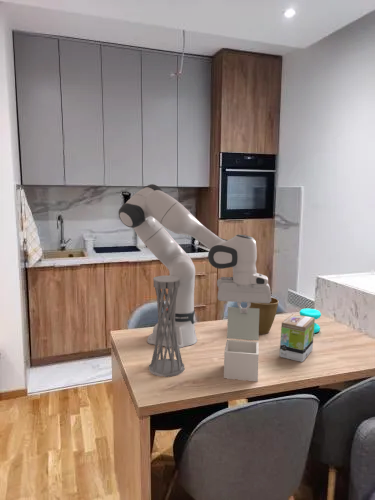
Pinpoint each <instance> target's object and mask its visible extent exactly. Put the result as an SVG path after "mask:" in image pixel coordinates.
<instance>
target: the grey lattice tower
mask: <svg viewBox="0 0 375 500" xmlns="http://www.w3.org/2000/svg"><path fill="white" fill-rule="evenodd" d="M178 287H180V278H179V277H177V276H170V275H158V276H155V277H153V288H154V290H155V293H156V302H157V303H156V304H157V323H158V326H157V334H156V342H155V345H154V349H153V354H152V357H151V362H150V363H149V365H148V371H149V372H150V374H153V376H156V377H161V376H164V377H165V378H168V376H169V377H174V376H178V375H181V374H182V373H184V371H185V364H184V362H183V359H182V354H181V350H180V348H179V345H178V339H177V331H176V322H175V311H176V296H177V291H178ZM172 289H173V293H172ZM169 297H170V305H169ZM164 298H165V301H164ZM167 308H168V313H167V311H166V309H167ZM169 316H170V322H169ZM164 318H166V321H165V322H164ZM162 325H163V332H162ZM171 325H172V330H171ZM167 326H168V329H169V330H168V335H167V332H166V328H167ZM164 336H165V339H166V346H164V350H163V346H162V344H163V340H164ZM169 337H171V340H172V346H171V347H170V346H169ZM159 340H160V344H159V345H158V342H159ZM174 340H175V341H174ZM163 353H164V354H163ZM167 353H168V354H167ZM167 355H168V358H167Z"/></svg>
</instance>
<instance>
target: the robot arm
mask: <svg viewBox="0 0 375 500" xmlns="http://www.w3.org/2000/svg"><path fill="white" fill-rule="evenodd" d="M118 218H119V219H120V221H121V223H122V224H123V225H124V226H126V227H128V228H130V229H133V231H135V233H136V235H137V237H139V239H140V240H141V242H143V244H144V245H145V246H146V247H147V249H148V250H149V251H150V252H151V254H153V256H154V257H155V258H156V259H158V260H159V262H160V263H162V264H163V265H164V266H165V267H166V269H167V270H168V272H169V276H177V277H179V278H180V287H178V291H177V296H176V311H175V322H176V331H177V339H178V345H179V349H180V348H183V347H188V346H191V345H194V344H195V343H197V342H198V338H197V333H196V328H195V323H196V310H195V283H196V266H195V264H194V262H193V260H192V258H191V257H190V255H188V254H187V251H185V250H184V249H183V248H182V246H181V245H179V243H178V242H177V241H176V240H175V239H174V238H173V237H172V236H171V234H170V233H169V232H168V231H167V230H169V231H170V232H172V233H174V234H177V235H185V236H189V237H190V238H191V237H192V238H194V239H195V240H197V241H198V242H199V243H200V244H202V245H203V246H205V247H206V248H207V249H209V251H208V253H207V260H208V262H209V264H210V265H211V267H214V268H215V269H218V270H219V269H220V270H223V269H229V268H232V276H221V277H219V278H218V279H217V281H216V285H217V288H218V291H217V300H218V301H219V302H229V303H231V302H232V303H233V302H234V303H236V305H237V307H239V309H240V313H246V314H248V309H249V307H250V306H251V303H270V302H271V297H272V292H271V287H270V284H269V278H268V276H267V275H264V274H262V273H258V272H257V259H258V252H257V251H258V250H257V249H258V248H257V242H256V240H255V238H254V237H252V236H250V235H246V234H235V236H233V237H231V238H230V239H225V238H222V237H220V236H218V235H217V234H216V233H215V232H213V231H211V230H210V229H209V228H207V227H206V226H205V225H204V224H203V223H202V222H200V221H199V220H198V219H197V218H196V217H195V216H194V215H193V214H192V213H191V212H190V211H189V209H187V208H186V207H185V206H184V205H183V204H182V203H181V202H179V201H178V200H177V199H176V198H174V197H173V196H171V195H170V194H168V193H166V192H164V191H163V190H162V188H161V187H160V186H158V185H156V184H154V183H153V184H152V183H151V184H148V185H145V186H144V187H143V188H141V189H140V190H138V191H137V192H136V193H134V194H133V195H132V196H131V197H130V198H129V199H128V200H127V201H126V202H125V203H123V204H122V205H121V206H120V207H119V209H118ZM172 293H173V289H172ZM168 302H169V305H170V297H169V301H168ZM242 303H246V305H247V306H246V307H242V306H241V304H242ZM166 311H167V313H168V308H167V309H166ZM165 321H166V318H165V317H164V322H165ZM169 322H170V316H169ZM157 326H158V322H157V323H156V324H155V325H154V327H153V329H152V332H151V333H150V334H149V335H148V337H147V339H146V340H147V341H146V342H147V343H148V344H149V345H154V346H155V342H156V334H157ZM168 330H169V329H168V326H167V328H166V332H167V335H168ZM171 330H172V325H171ZM162 332H163V325H162ZM174 341H175V340H174ZM159 344H160V340H159V342H158V346H159ZM169 346H170V348H171V346H172V340H171V337H169ZM162 347H166V339H165V336H164V340H163V344H162Z"/></svg>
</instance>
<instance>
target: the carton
mask: <svg viewBox="0 0 375 500" xmlns="http://www.w3.org/2000/svg"><path fill="white" fill-rule="evenodd" d="M225 342H226V343H225V347H224V353H223V354H224V355H223V356H224V357H223V365H224V366H223V379H224V378H227V379H226V380H235V379H238V380H237V381H246V380H248V382H249V381H250V382H258V381H259V359H260V358H259V357H260V356H259V355H260V353H259V350H260V348H259V346H260V345H259V341H253V340H239V339H227V340H226V341H225Z"/></svg>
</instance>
